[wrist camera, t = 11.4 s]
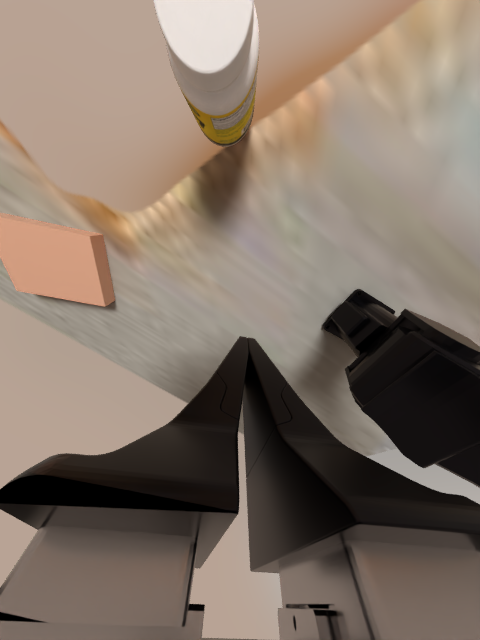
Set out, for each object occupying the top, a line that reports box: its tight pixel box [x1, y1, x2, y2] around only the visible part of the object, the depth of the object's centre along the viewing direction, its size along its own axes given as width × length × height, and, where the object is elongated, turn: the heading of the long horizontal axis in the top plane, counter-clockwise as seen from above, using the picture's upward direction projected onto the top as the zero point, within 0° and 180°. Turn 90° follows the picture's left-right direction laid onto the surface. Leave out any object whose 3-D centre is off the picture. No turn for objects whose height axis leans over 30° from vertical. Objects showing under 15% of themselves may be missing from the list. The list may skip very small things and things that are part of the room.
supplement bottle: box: [154, 0, 259, 147], centre depth 10 cm, size 5×5×8 cm
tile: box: [0, 213, 115, 307], centre depth 20 cm, size 2×8×10 cm
